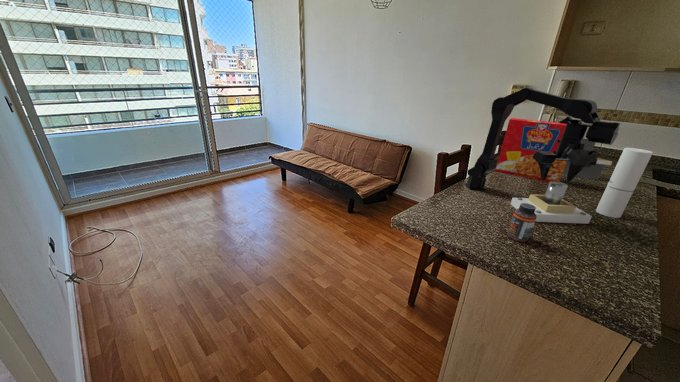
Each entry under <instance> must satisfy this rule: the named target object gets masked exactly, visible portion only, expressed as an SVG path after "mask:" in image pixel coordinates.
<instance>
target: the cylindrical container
mask: <svg viewBox="0 0 680 382" xmlns="http://www.w3.org/2000/svg"><path fill="white" fill-rule="evenodd" d="M653 153H654V151H651V150H646V149H643V148H642V149H641V148H635V147H624V148H623V150H622V153H621V154H620V157H619V159H618V161H617V163H616V166H615V168H614V170H613V172H612V175H611V176H610V179H609V181H608V183H607V185H606V188H605V189H604V192H603V194H602V197H601V198H600V200H599V202H598V205H597V207H596V209H595V212H597V214H600V215H602V216H605V217H609V218H615V219H618V218H622V215H623V213H624V212H625V209H626V207H627V205H628V203H629V202H630V199H631V197H632V196H633V193H634V191H635V189H636V187H637V186H638V183H639V181H640V179H641V178H642V176H643V174H644V171H645V170H646V167H647V165H648V164H649V162H650V160H651V157H652V155H653Z"/></svg>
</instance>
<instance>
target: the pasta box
mask: <svg viewBox="0 0 680 382" xmlns="http://www.w3.org/2000/svg"><path fill="white" fill-rule="evenodd" d="M565 127H566V124H563V123H560V122H553V121H544V120H534V119H524V118H517V117H516V118H515V117H510V119H509V120H508V124H507V127H506V131H505V134H504V136H503V137H504V138H503V142H502V145H501V148H500V152H499V156H498V158H497V159H498V162H497V164H496V168H495V169H494V172H495V173H498V174H500V173H501V174H505V175H510V176H514V177H520V178H525V179H530V180H535V181H539V182H544V183H547V184H548V183H549V182H550V181H558V182H561V178H562V176H563V174H562V173H563V171H564V168H565V166H566V163H567V161H559V160H555V162H553V163H552V164H554V165H553V166H552V167H550V169H549V172H548V175H547V177H546V179H545V181H543V180H542V178H541V173H540V168H539V165H538V162H537V161H535V159H533V155H534V153H535V152H537V151H540V152H548V153H551V154H553V155H555V154H554V153H553V152H554V151H557V149H558V146H559V143H558V142H557V141H558V139H561V138H562V135H563V132H564V130H565Z"/></svg>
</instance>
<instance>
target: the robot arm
mask: <svg viewBox="0 0 680 382" xmlns="http://www.w3.org/2000/svg"><path fill="white" fill-rule="evenodd" d="M525 101H530V102H533V103H535V104H536V103H537V104H541V105H544V106H547V107H549V108H554V109H557V110H559V111H561V112H562V113H564V114H566V115H568V116H566V117H565V118H564V119H562V120H559V123H563V124H566V127H565V130H564V132H563V135H562V138H561V139H558V141H557V142H558V143H559V146H558V149H557V151H554V152H553V153H554V154H555V155H553V154H551V153H548V152H540V151H537V152H535V153H534V155H533V159H535V161H537V162H538V165H539V168H540V173H541V178H542V180H543V181H545V179H546V177H547V175H548V172H549V169H550V167H552V166H553V165H554V164H552V163H553V162H555V160H559V161H571V162H570V166H569V171H568V175H567V174H566V175H567V176H566V181H567V182H569V183H570V182H572V180H574V178H575V177H577V176H576V175H577V174H578V173H579V172H580V171H581V170H582V169H585V168H587V167H591V166H590V165H596V162H597V158H599V157H598V156H599V151H597V150H593V151H592V150H591V151H586V150H584V146H585V145H584V143H582V140H583V138H584V139H588V141H590V142H596V143H595V144H597V143H598V144H601V145H603V144H604V145H608V146H612V145H613V144H614V142H615V141H616V139H617V137H618V135H619V130H620V125H621V122H617V121H615V122H612V121H602V120H601V118H600V117H599V115H598V113H597V110H598V105H597V102H596V101H594V100H591V99H582V98H569V97H564V96H560V95H557V94H552V93H548V92H544V91H541V90H537V89H534V88H532V87H523V88H521V89H520V90H518V91H517V90H516V91H515V92H513V93H510V94H509V95H508V94H507V95H506V96H504V97H503V96H502V97H501V96H500V97H497V98H496V99H494V100H493V102H492V103H491V112H490V113H491V119H492V120H491V124H490V127H489V129H488V133H487V137H486V139H485V144H484V147H483V150H482V153H481V154H480V155H479V157H478V158H477V159H476V162H475V164H474V165H473V167H471V168H469V169H468V170H467V175H468V178H467V181H466V183H464V185H465V186H466V187H467V188H468V189H469V190H472V191H473V190H474V191H476V190H477V191H485V185H486V183H487V175H488V174H489V173H491V172H493V171H495V169H496V166H497V163H498V159H499V158H496V155H495V154H496V151H497V147H498V145H499V142H500V138H501V134H502V133H503V132H502V131H503V129H504V126H505V123H506V121H507V120H508V118H509V117H510V115H511V114H512V112H513V111H514V108H515V107H516V106H518V105H520V104H522V103H523V102H525ZM543 181H542V182H543Z"/></svg>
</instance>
